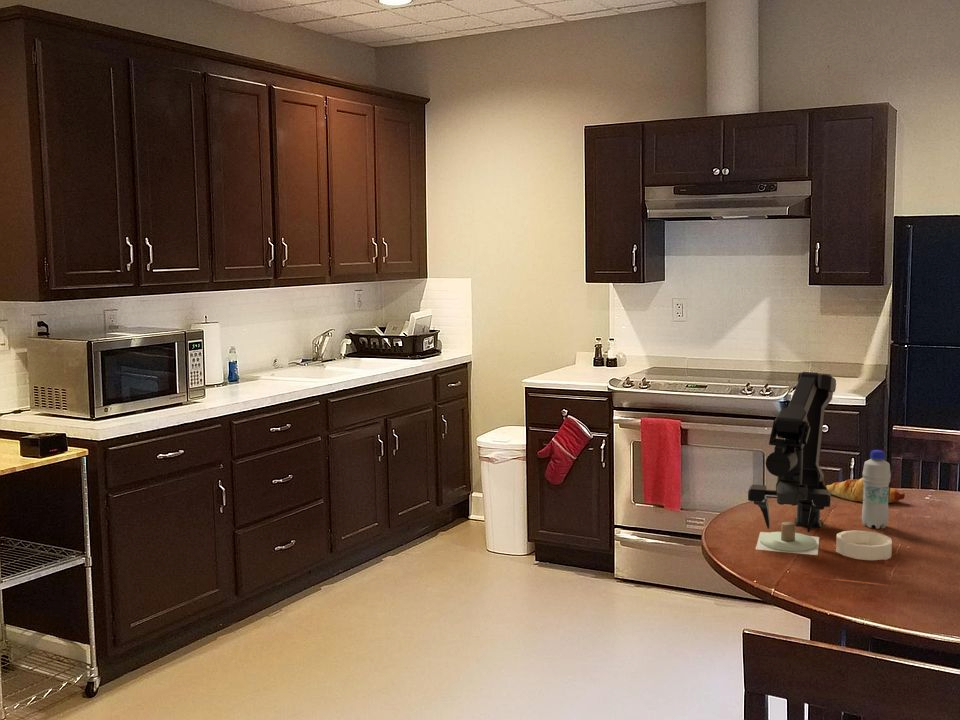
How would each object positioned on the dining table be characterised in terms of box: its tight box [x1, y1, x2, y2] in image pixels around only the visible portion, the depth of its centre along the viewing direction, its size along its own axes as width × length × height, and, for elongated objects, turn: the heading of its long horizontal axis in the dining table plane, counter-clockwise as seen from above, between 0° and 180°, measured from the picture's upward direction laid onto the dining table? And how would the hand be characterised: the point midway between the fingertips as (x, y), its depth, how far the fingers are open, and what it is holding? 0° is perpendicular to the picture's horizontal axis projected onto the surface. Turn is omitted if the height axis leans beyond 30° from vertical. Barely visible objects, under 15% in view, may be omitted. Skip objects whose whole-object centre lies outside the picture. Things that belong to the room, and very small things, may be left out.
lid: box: [760, 521, 816, 552], centre depth 237 cm, size 13×13×5 cm
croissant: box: [826, 477, 905, 504], centre depth 275 cm, size 21×10×8 cm
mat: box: [755, 531, 820, 556], centre depth 237 cm, size 14×14×1 cm
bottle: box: [861, 449, 892, 530], centre depth 248 cm, size 7×7×20 cm
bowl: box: [835, 529, 893, 561], centre depth 230 cm, size 12×12×4 cm
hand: (788, 530), depth 237 cm, fingers open, 9 cm apart
